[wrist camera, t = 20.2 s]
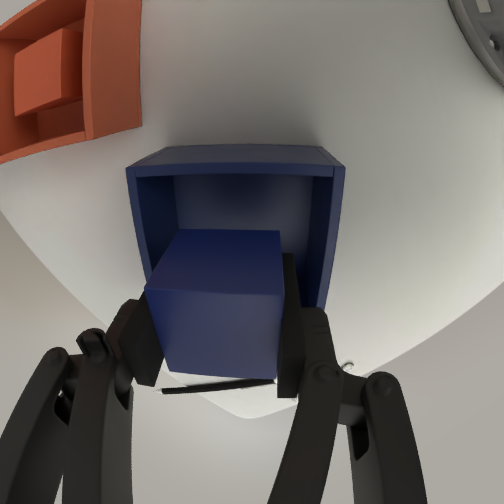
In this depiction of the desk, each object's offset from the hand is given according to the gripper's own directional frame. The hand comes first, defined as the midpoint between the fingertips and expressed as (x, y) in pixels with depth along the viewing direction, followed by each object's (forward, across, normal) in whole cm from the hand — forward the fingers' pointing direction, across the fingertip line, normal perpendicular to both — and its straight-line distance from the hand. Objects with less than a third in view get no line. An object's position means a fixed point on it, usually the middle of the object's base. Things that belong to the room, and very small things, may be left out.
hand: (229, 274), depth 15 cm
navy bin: (+8, 0, 0) cm, 8 cm away
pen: (+7, -4, -22) cm, 24 cm away
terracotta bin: (+8, -13, +13) cm, 20 cm away
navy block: (0, 0, 0) cm, 0 cm away
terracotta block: (+7, -13, +13) cm, 20 cm away
